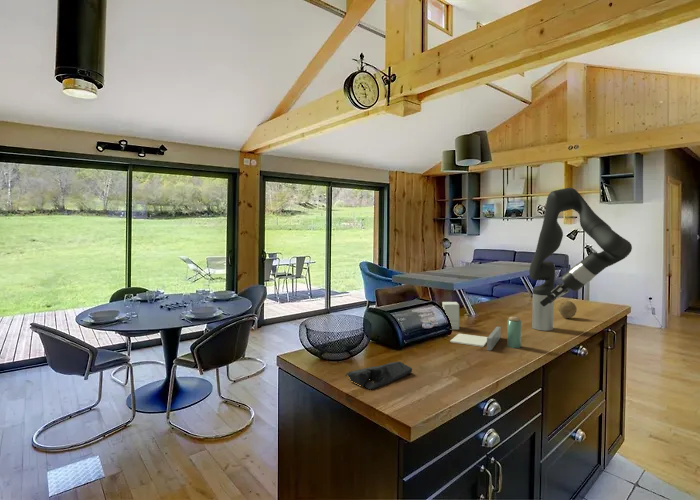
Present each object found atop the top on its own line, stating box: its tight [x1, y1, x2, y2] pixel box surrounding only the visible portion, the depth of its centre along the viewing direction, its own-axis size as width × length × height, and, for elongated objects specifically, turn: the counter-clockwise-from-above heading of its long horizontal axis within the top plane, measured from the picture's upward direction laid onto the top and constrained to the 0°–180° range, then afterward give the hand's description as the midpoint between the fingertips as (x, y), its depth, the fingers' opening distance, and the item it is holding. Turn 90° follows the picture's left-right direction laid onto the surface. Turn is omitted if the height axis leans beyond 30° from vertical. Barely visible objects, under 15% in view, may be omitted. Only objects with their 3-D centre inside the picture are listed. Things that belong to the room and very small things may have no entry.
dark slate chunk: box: [345, 361, 413, 390], centre depth 130 cm, size 15×22×5 cm
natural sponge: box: [557, 299, 578, 319], centre depth 212 cm, size 9×9×10 cm
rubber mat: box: [449, 333, 488, 348], centre depth 171 cm, size 14×14×1 cm
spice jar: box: [506, 316, 522, 349], centre depth 162 cm, size 5×5×12 cm
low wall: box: [486, 326, 502, 352], centre depth 166 cm, size 22×2×5 cm, turn 149°
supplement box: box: [441, 301, 460, 330], centre depth 194 cm, size 7×7×13 cm
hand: (544, 303), depth 154 cm, fingers open, 8 cm apart
